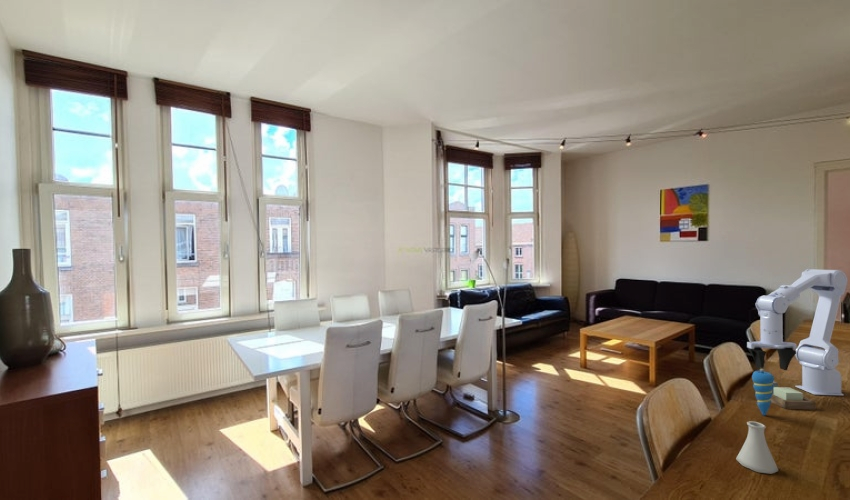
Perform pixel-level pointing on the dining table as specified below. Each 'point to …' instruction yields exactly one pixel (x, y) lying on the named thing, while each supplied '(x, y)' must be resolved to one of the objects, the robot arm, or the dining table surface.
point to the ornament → (763, 389)
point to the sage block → (787, 393)
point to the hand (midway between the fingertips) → (771, 369)
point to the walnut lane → (793, 403)
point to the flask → (756, 451)
